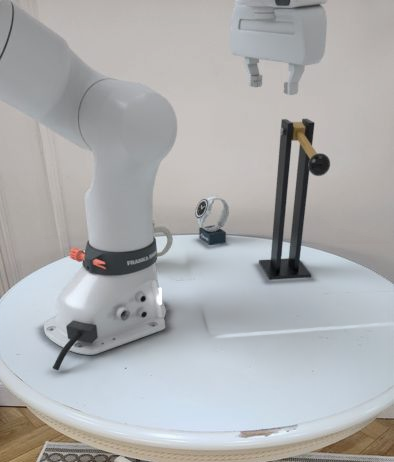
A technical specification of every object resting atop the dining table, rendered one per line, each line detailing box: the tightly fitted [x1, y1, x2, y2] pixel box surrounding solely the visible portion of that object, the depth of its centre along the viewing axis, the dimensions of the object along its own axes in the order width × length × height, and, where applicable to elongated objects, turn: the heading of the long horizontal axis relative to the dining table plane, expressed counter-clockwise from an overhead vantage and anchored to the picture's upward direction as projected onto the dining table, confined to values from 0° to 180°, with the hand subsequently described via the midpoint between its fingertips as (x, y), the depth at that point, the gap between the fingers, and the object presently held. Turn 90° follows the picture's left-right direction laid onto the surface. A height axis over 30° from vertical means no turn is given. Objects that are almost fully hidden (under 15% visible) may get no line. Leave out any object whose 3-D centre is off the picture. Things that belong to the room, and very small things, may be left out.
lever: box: [291, 121, 331, 177], centre depth 94 cm, size 17×4×4 cm, turn 8°
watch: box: [194, 195, 230, 246], centre depth 126 cm, size 6×8×11 cm
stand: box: [258, 118, 315, 281], centre depth 106 cm, size 9×9×30 cm
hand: (272, 90), depth 89 cm, fingers open, 8 cm apart
